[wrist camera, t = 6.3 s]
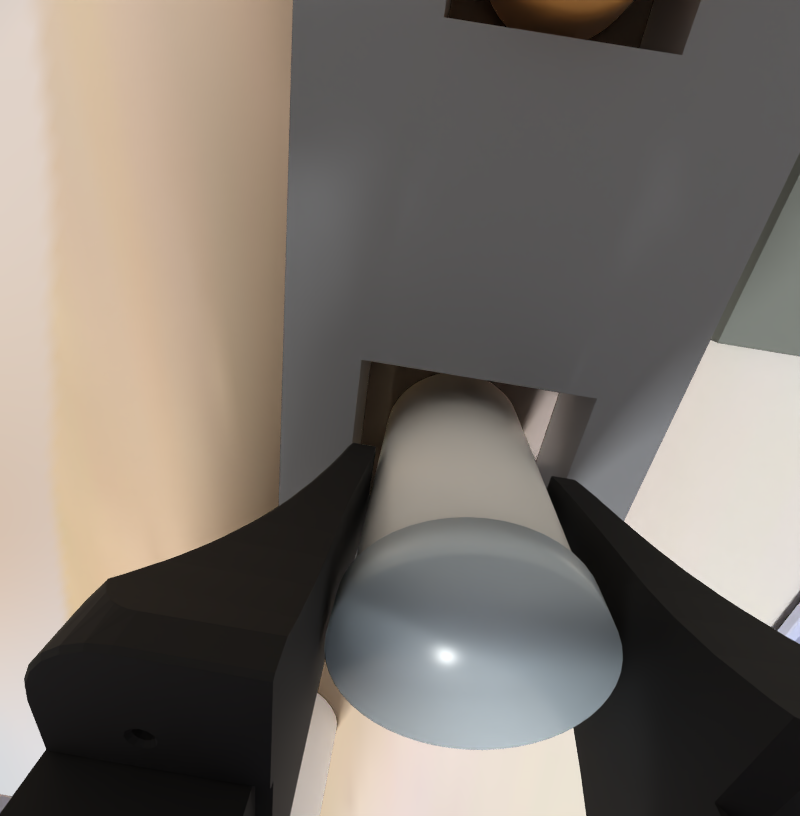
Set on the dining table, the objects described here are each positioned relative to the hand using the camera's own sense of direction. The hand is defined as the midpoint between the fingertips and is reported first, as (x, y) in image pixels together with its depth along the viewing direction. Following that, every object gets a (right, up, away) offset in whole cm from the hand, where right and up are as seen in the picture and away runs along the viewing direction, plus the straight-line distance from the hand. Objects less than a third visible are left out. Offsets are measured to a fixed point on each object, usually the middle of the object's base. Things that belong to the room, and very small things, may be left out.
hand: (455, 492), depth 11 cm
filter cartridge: (0, +1, +3) cm, 3 cm away
